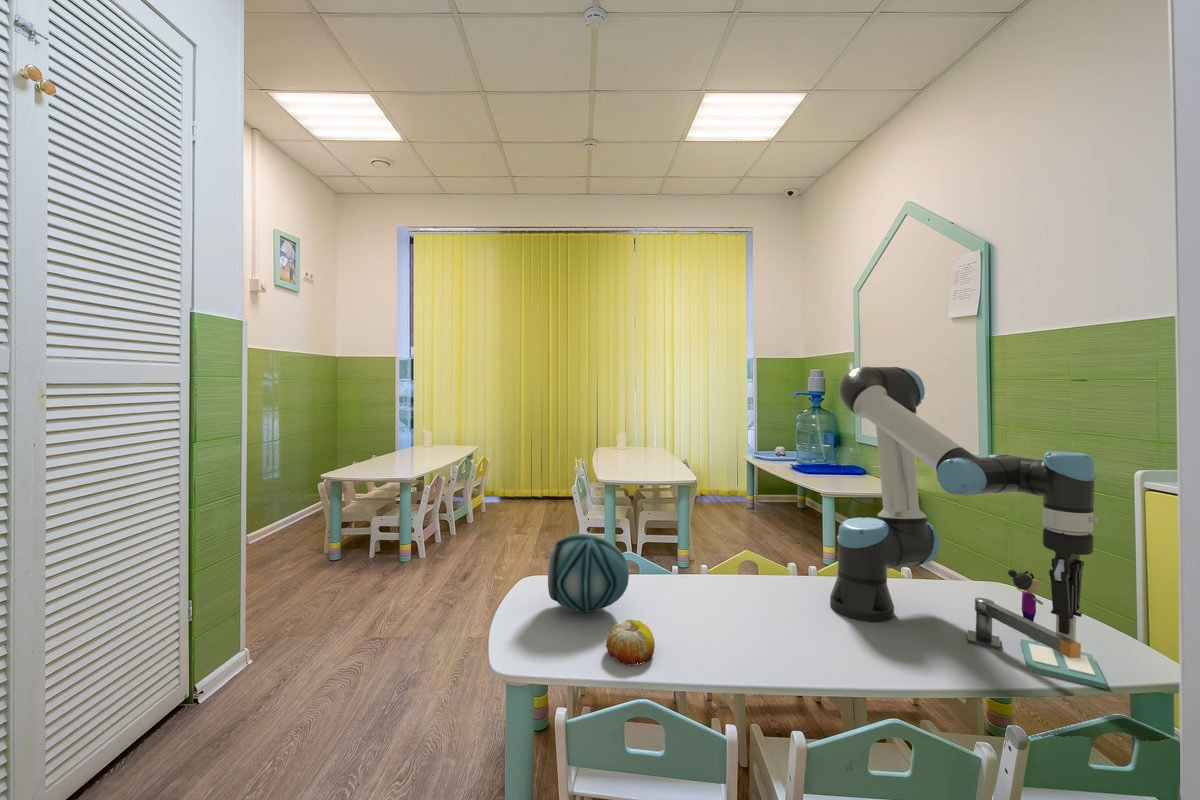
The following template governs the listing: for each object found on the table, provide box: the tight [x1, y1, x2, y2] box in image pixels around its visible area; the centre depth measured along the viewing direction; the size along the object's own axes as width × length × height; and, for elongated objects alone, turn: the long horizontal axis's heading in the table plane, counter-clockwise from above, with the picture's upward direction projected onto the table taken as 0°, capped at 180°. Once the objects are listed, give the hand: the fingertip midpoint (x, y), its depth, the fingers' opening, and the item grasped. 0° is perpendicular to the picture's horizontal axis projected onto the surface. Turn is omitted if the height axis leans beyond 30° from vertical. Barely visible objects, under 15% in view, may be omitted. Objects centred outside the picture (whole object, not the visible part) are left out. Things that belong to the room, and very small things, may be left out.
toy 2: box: [1007, 569, 1044, 623], centre depth 125 cm, size 10×6×15 cm, turn 168°
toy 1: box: [547, 533, 630, 613], centre depth 136 cm, size 19×20×20 cm
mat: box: [1020, 638, 1107, 690], centre depth 111 cm, size 12×14×1 cm
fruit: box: [605, 619, 656, 665], centre depth 114 cm, size 11×10×8 cm
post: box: [967, 611, 1002, 651], centre depth 121 cm, size 6×6×7 cm
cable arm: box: [974, 597, 1082, 658], centre depth 111 cm, size 22×4×3 cm, turn 7°
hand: (1065, 647), depth 104 cm, fingers closed
